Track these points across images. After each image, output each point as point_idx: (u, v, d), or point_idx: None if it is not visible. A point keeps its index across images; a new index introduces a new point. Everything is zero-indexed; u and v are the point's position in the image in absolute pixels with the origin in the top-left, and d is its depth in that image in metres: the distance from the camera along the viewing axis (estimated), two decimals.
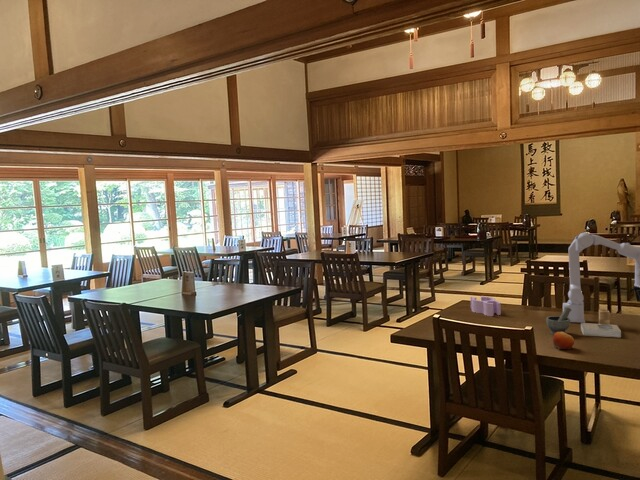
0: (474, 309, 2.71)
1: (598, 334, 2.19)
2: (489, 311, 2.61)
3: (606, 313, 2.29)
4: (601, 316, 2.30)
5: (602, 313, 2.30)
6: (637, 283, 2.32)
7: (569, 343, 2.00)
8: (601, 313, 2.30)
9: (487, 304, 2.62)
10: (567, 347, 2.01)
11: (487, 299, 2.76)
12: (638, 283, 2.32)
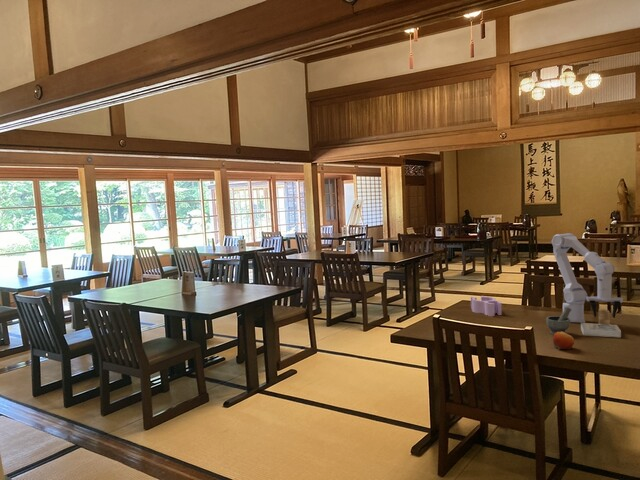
0: (475, 309, 2.71)
1: (598, 334, 2.19)
2: (490, 311, 2.61)
3: (606, 313, 2.29)
4: (601, 316, 2.30)
5: (602, 313, 2.30)
6: None
7: (569, 343, 2.00)
8: (601, 313, 2.30)
9: (488, 304, 2.62)
10: (567, 347, 2.01)
11: (487, 299, 2.76)
12: None
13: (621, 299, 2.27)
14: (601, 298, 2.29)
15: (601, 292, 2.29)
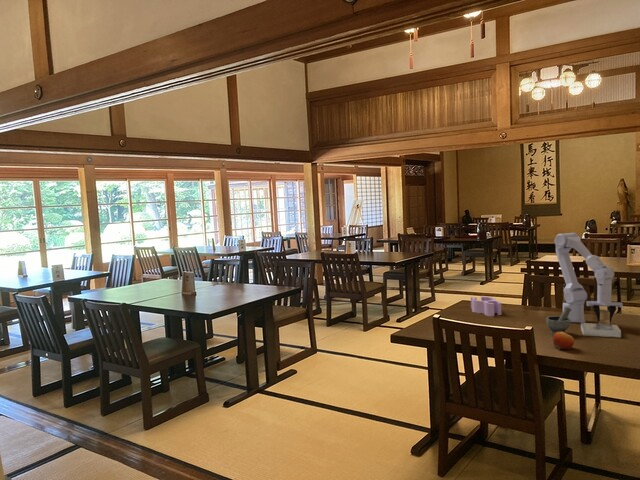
0: (474, 309, 2.71)
1: (598, 334, 2.19)
2: (489, 312, 2.61)
3: (606, 313, 2.29)
4: (601, 316, 2.30)
5: (602, 313, 2.30)
6: None
7: (569, 343, 2.00)
8: (601, 313, 2.30)
9: (488, 304, 2.62)
10: (567, 347, 2.01)
11: (487, 299, 2.76)
12: None
13: (621, 304, 2.27)
14: (601, 303, 2.29)
15: (601, 297, 2.29)
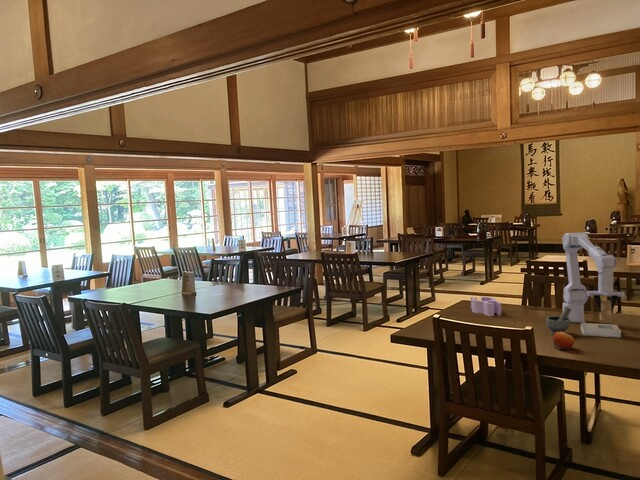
0: (474, 309, 2.71)
1: (598, 334, 2.19)
2: (489, 312, 2.61)
3: (607, 303, 2.19)
4: (602, 307, 2.20)
5: (603, 304, 2.20)
6: None
7: (569, 343, 2.00)
8: (602, 304, 2.20)
9: (488, 304, 2.61)
10: (567, 347, 2.01)
11: (487, 299, 2.76)
12: None
13: (623, 293, 2.17)
14: (602, 292, 2.19)
15: (602, 286, 2.19)
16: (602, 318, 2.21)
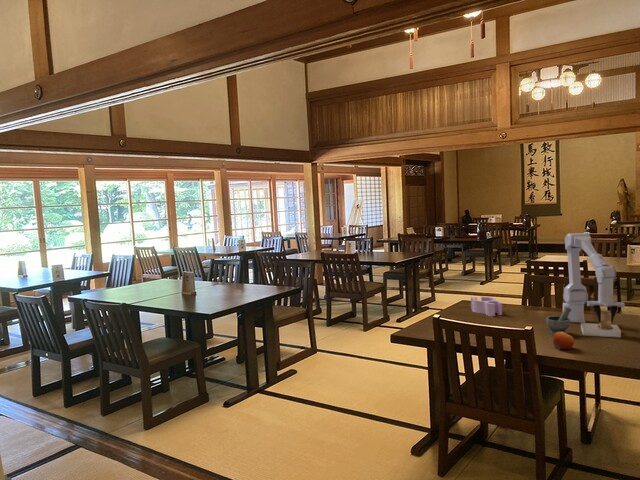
0: (475, 309, 2.70)
1: (598, 334, 2.19)
2: (490, 312, 2.61)
3: (607, 314, 2.20)
4: (602, 317, 2.21)
5: (603, 314, 2.20)
6: None
7: (569, 343, 2.00)
8: (602, 314, 2.20)
9: (488, 304, 2.61)
10: (567, 347, 2.01)
11: (487, 299, 2.76)
12: None
13: (623, 304, 2.18)
14: (602, 303, 2.19)
15: (602, 296, 2.19)
16: None
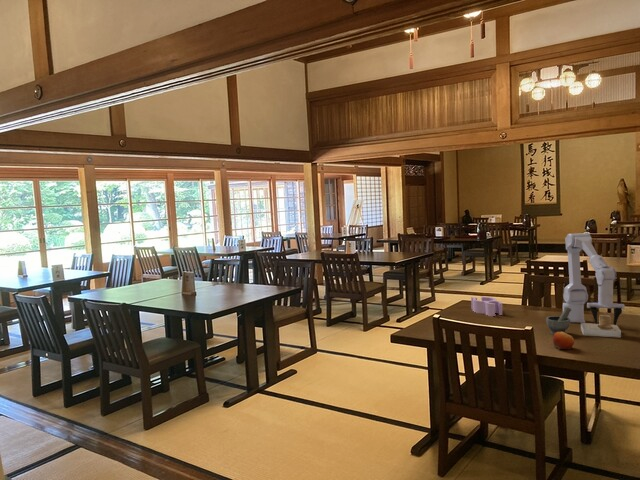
0: (475, 309, 2.70)
1: (598, 334, 2.19)
2: (491, 312, 2.61)
3: (607, 318, 2.20)
4: (602, 321, 2.21)
5: (603, 318, 2.20)
6: None
7: (569, 343, 2.00)
8: (602, 318, 2.21)
9: (489, 304, 2.61)
10: (567, 347, 2.01)
11: (488, 299, 2.76)
12: None
13: (623, 306, 2.18)
14: (602, 304, 2.19)
15: (602, 298, 2.19)
16: None
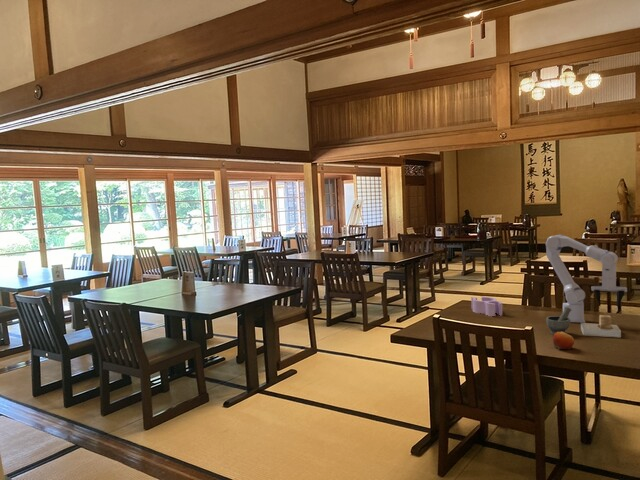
0: (475, 309, 2.70)
1: (598, 334, 2.19)
2: (491, 312, 2.61)
3: (607, 318, 2.20)
4: (602, 321, 2.21)
5: (603, 318, 2.20)
6: None
7: (569, 343, 2.00)
8: (602, 318, 2.21)
9: (489, 304, 2.61)
10: (567, 347, 2.01)
11: (488, 299, 2.76)
12: None
13: (625, 288, 2.30)
14: (605, 287, 2.31)
15: (606, 281, 2.31)
16: None
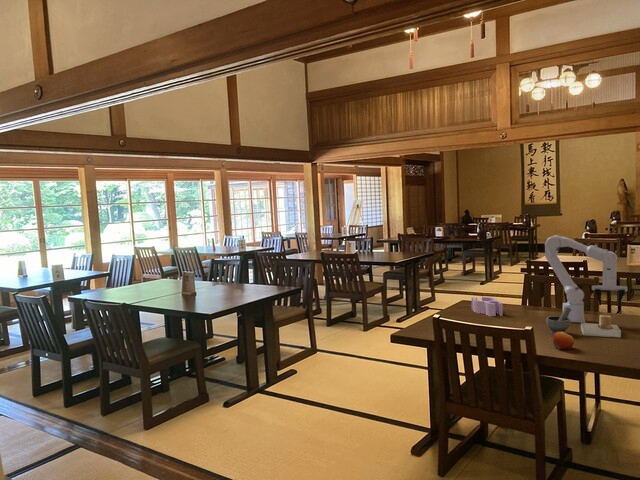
0: (476, 309, 2.70)
1: (598, 334, 2.19)
2: (491, 312, 2.61)
3: (607, 318, 2.20)
4: (602, 321, 2.21)
5: (603, 318, 2.21)
6: None
7: (569, 343, 2.00)
8: (602, 318, 2.21)
9: (489, 304, 2.61)
10: (567, 347, 2.01)
11: (488, 299, 2.76)
12: None
13: (626, 288, 2.31)
14: (606, 287, 2.33)
15: (606, 281, 2.33)
16: None
